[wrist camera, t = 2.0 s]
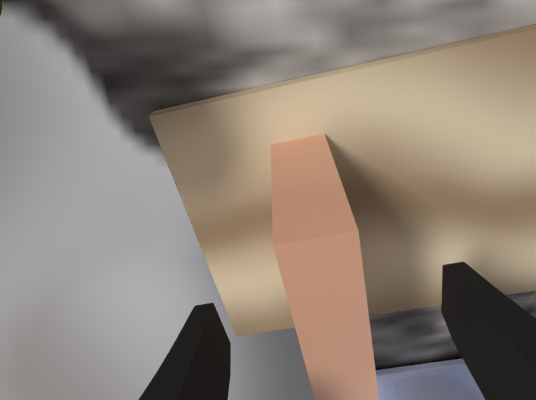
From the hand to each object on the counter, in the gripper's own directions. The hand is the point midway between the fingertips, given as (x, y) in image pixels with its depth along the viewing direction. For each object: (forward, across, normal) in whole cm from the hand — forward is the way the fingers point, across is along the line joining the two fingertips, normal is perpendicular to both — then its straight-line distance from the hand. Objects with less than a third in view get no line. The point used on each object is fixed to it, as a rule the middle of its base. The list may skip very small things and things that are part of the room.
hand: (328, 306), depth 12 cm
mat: (+5, -4, 0) cm, 6 cm away
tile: (+4, 0, 0) cm, 5 cm away
